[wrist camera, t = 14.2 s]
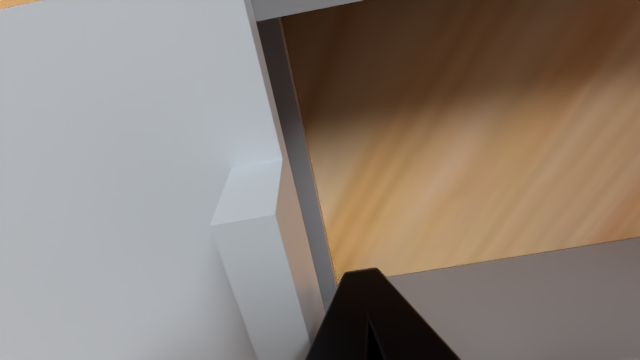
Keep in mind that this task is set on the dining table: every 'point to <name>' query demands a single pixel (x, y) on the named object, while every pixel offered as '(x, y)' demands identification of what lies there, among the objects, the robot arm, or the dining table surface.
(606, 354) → the housing
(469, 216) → the dining table surface
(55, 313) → the lid
